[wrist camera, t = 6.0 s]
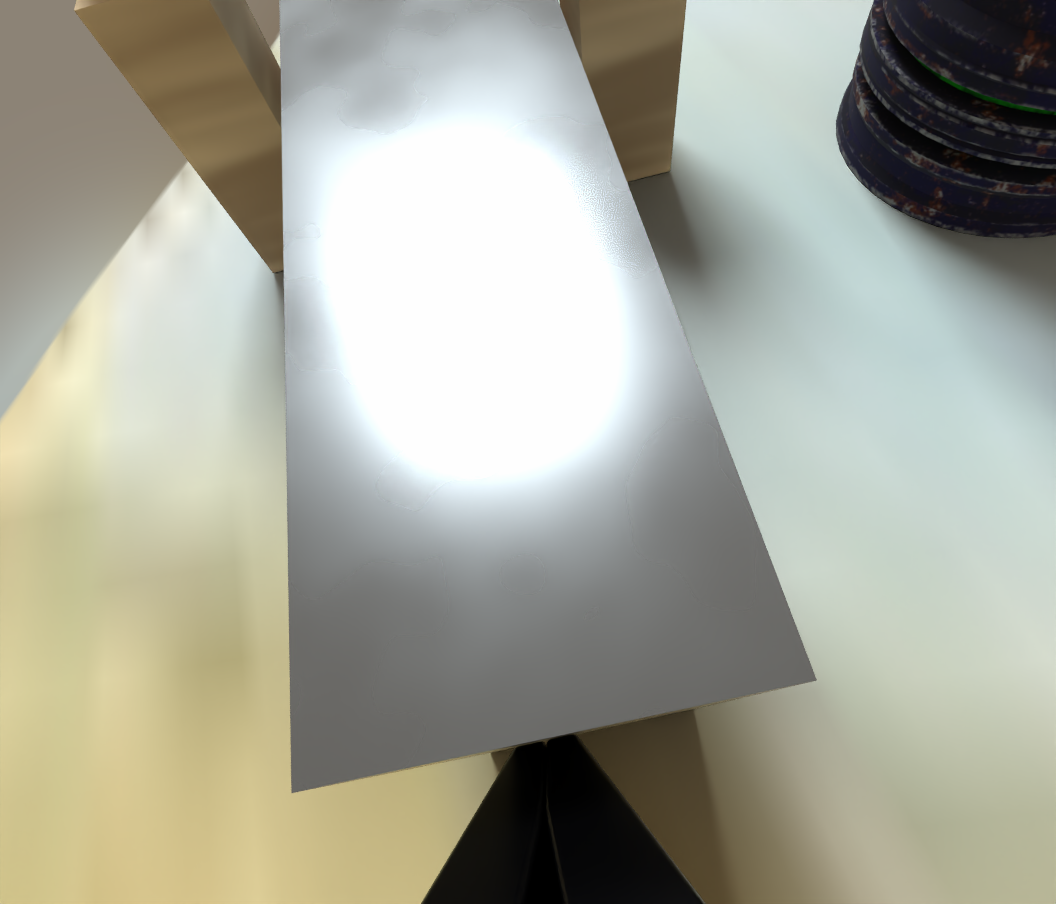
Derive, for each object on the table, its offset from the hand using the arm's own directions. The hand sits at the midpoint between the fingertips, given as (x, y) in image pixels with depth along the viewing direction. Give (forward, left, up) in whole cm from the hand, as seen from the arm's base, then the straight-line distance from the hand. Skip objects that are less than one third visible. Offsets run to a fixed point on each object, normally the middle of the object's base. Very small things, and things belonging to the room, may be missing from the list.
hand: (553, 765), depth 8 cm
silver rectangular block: (+10, -3, -7) cm, 13 cm away
